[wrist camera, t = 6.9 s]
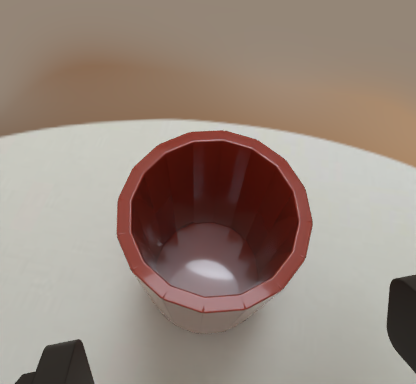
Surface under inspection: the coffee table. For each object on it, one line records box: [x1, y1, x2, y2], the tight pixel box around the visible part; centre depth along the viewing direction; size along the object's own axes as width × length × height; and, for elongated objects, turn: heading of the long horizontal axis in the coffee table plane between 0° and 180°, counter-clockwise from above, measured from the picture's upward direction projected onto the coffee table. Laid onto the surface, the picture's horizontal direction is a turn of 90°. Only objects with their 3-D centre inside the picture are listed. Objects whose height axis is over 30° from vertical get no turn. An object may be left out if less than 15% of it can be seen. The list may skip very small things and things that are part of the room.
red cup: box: [117, 130, 313, 334], centre depth 15 cm, size 6×6×8 cm
